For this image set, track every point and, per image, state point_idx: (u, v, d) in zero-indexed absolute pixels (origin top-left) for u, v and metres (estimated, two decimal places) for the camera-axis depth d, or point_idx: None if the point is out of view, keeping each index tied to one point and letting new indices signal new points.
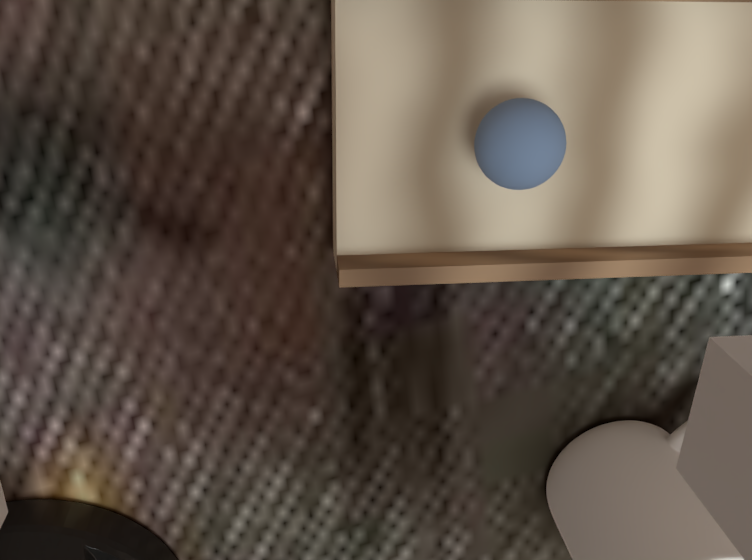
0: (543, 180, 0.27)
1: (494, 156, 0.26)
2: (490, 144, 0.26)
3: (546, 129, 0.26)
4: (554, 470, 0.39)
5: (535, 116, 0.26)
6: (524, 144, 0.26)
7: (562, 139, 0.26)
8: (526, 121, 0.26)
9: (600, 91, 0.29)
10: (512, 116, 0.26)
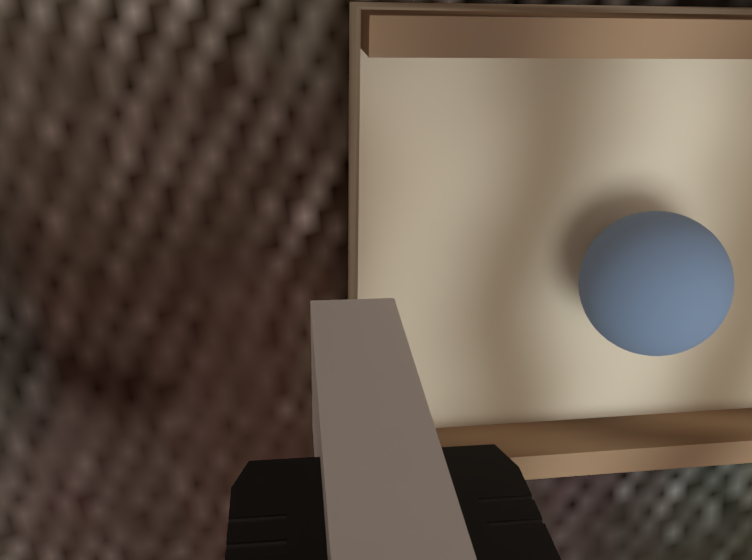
0: (696, 345, 0.17)
1: (622, 312, 0.16)
2: (615, 292, 0.16)
3: (711, 273, 0.16)
4: None
5: (693, 250, 0.16)
6: (677, 298, 0.15)
7: (732, 284, 0.16)
8: (680, 259, 0.16)
9: None
10: (654, 249, 0.16)
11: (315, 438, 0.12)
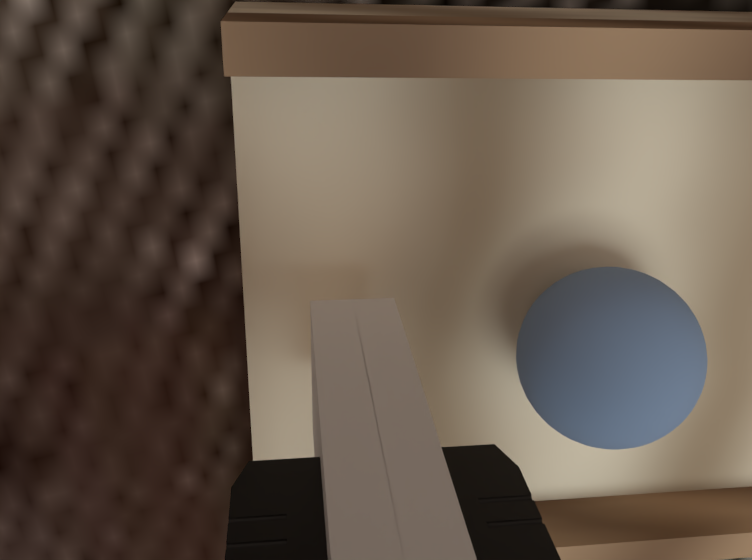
0: None
1: (563, 400, 0.13)
2: (555, 375, 0.13)
3: (676, 354, 0.12)
4: None
5: (653, 324, 0.12)
6: (631, 386, 0.12)
7: (704, 364, 0.13)
8: (635, 336, 0.12)
9: None
10: (604, 322, 0.12)
11: (315, 438, 0.12)
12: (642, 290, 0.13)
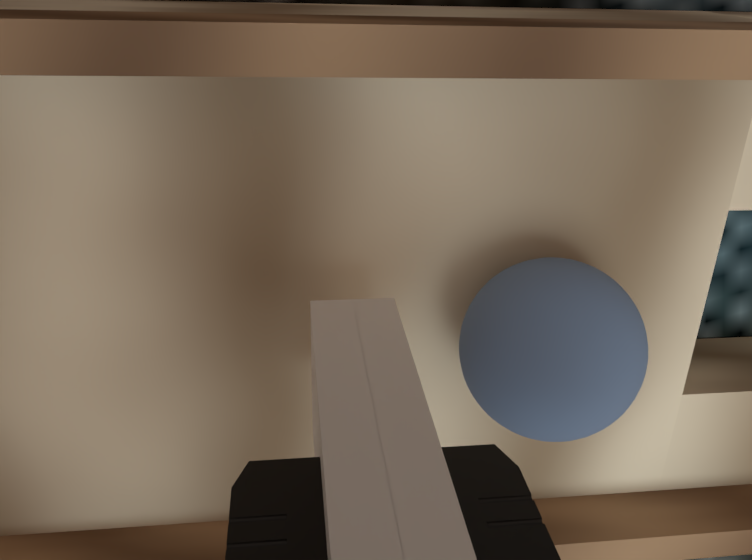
0: (542, 437, 0.13)
1: (459, 350, 0.14)
2: (461, 326, 0.14)
3: (537, 344, 0.12)
4: None
5: (531, 309, 0.12)
6: (486, 353, 0.13)
7: (583, 377, 0.12)
8: (509, 312, 0.12)
9: (244, 249, 0.14)
10: (499, 291, 0.13)
11: (315, 438, 0.12)
12: (556, 280, 0.12)
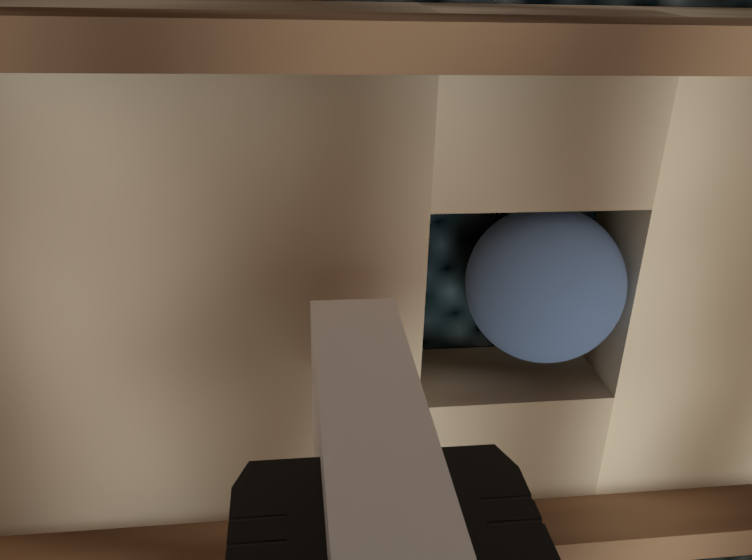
0: None
1: None
2: None
3: (483, 248, 0.15)
4: None
5: (499, 225, 0.15)
6: None
7: (492, 284, 0.15)
8: (493, 225, 0.16)
9: None
10: (509, 214, 0.16)
11: (315, 438, 0.12)
12: (532, 214, 0.15)
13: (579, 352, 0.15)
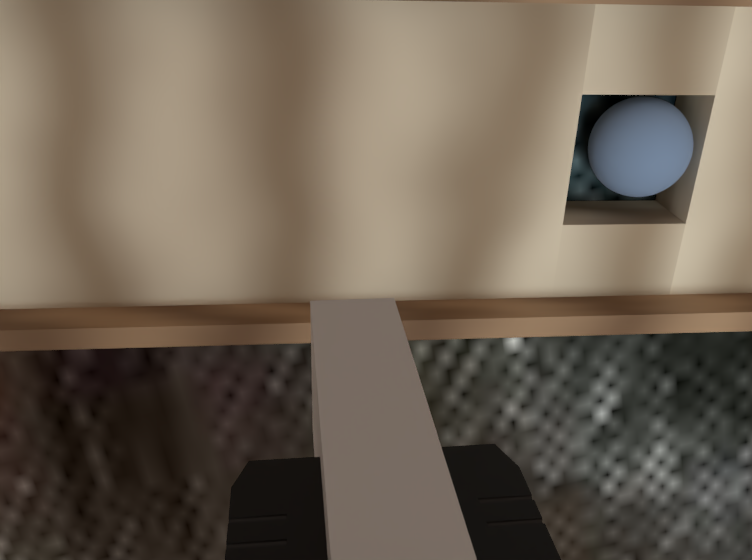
0: (599, 178, 0.25)
1: None
2: None
3: (601, 120, 0.25)
4: None
5: (613, 107, 0.25)
6: None
7: (607, 140, 0.24)
8: None
9: (276, 112, 0.23)
10: None
11: (315, 438, 0.12)
12: (634, 99, 0.24)
13: (659, 185, 0.24)
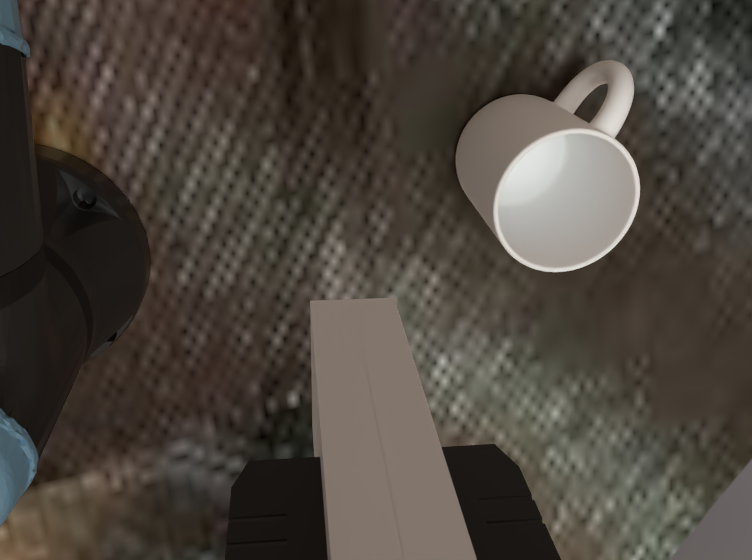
0: None
1: None
2: None
3: None
4: (460, 138, 0.46)
5: None
6: None
7: None
8: None
9: None
10: None
11: (315, 438, 0.12)
12: None
13: None
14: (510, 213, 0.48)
